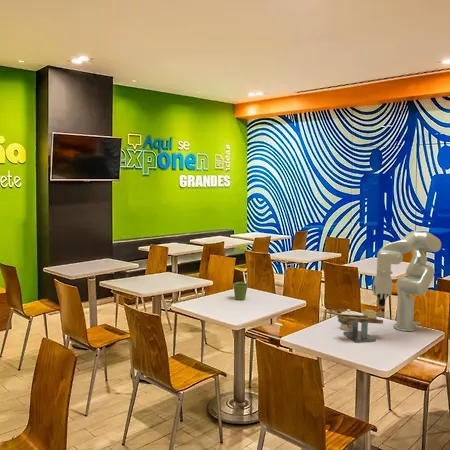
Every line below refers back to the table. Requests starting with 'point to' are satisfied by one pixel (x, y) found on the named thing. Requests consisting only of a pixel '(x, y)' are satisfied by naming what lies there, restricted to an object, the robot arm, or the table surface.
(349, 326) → the teacup with lid
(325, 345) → the table surface
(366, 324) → the pivot stand
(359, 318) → the balance beam
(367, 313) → the block
